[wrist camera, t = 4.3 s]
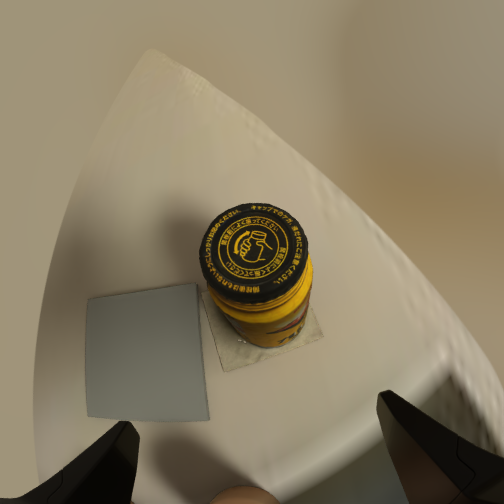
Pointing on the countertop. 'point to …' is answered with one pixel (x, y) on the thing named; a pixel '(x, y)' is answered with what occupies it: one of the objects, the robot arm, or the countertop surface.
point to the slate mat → (146, 356)
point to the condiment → (257, 284)
